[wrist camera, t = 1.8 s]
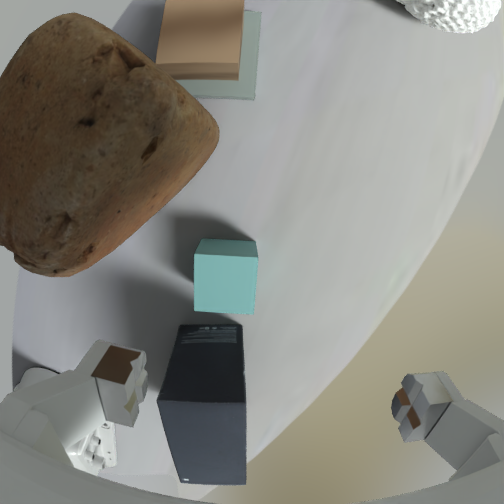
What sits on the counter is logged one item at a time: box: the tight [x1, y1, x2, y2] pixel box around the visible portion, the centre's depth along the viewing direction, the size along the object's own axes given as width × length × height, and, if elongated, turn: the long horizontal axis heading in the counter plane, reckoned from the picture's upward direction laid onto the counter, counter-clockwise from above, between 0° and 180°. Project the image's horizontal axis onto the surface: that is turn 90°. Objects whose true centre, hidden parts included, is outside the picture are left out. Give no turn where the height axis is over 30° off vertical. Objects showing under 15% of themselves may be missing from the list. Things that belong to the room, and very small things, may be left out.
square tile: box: [176, 11, 261, 100], centre depth 23 cm, size 9×9×1 cm
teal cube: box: [194, 238, 258, 314], centre depth 27 cm, size 5×5×5 cm
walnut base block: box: [155, 0, 244, 81], centre depth 20 cm, size 6×6×5 cm
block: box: [0, 13, 219, 277], centre depth 16 cm, size 11×8×20 cm
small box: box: [157, 325, 246, 485], centre depth 27 cm, size 13×7×12 cm, turn 0°
